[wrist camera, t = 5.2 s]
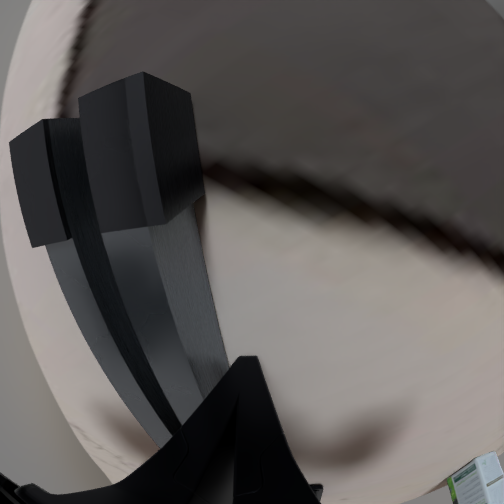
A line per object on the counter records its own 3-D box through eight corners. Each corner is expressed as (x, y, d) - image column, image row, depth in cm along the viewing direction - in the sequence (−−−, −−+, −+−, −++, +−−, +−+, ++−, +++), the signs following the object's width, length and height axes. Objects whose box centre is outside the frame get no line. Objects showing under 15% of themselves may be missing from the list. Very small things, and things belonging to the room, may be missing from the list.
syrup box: (475, 457, 16) (496, 540, 3) (496, 449, 17) (518, 523, 3) (445, 478, 19) (460, 556, 5) (468, 470, 19) (485, 540, 6)
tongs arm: (258, 447, 13) (253, 493, 10) (228, 446, 13) (220, 490, 10) (190, 93, 7) (138, 69, 4) (135, 108, 7) (65, 101, 4)
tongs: (272, 459, 14) (269, 504, 11) (197, 455, 15) (187, 497, 12) (198, 92, 7) (142, 62, 4) (66, 138, 8) (-11, 152, 4)
